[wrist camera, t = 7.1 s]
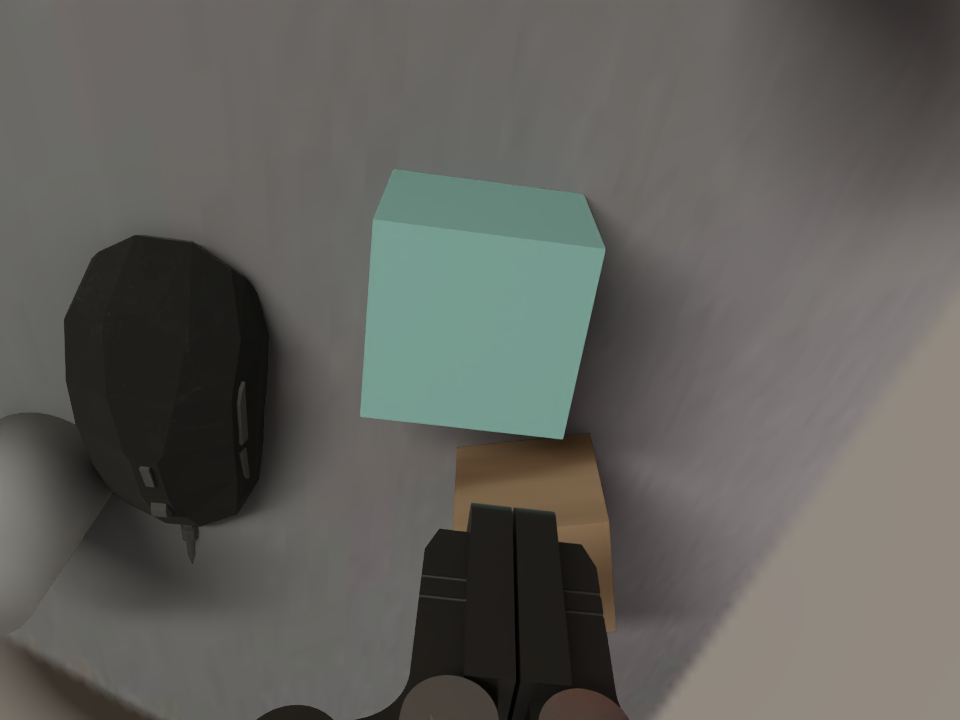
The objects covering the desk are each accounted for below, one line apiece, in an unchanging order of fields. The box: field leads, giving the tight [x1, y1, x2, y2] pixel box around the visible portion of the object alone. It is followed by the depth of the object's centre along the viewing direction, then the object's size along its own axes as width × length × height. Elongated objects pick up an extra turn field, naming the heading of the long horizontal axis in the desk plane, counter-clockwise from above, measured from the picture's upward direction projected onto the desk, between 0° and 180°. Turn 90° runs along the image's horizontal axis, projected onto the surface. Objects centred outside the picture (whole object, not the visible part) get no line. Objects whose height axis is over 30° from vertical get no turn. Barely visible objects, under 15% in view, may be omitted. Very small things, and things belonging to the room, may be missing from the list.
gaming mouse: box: [64, 235, 269, 564], centre depth 26 cm, size 6×15×4 cm, turn 172°
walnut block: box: [453, 433, 616, 633], centre depth 27 cm, size 5×5×5 cm
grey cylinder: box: [0, 413, 112, 636], centre depth 26 cm, size 5×5×6 cm
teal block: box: [360, 169, 606, 439], centre depth 23 cm, size 6×6×5 cm
